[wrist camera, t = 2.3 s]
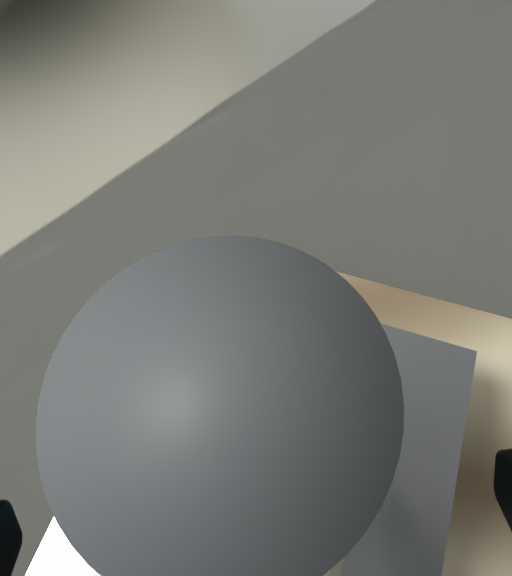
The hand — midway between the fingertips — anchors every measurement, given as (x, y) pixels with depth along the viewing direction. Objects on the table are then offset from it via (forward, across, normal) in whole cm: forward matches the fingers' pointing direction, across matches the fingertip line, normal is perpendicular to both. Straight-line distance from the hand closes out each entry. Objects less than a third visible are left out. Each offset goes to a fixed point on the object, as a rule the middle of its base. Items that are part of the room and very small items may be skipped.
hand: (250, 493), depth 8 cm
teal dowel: (+7, 0, +5) cm, 8 cm away
